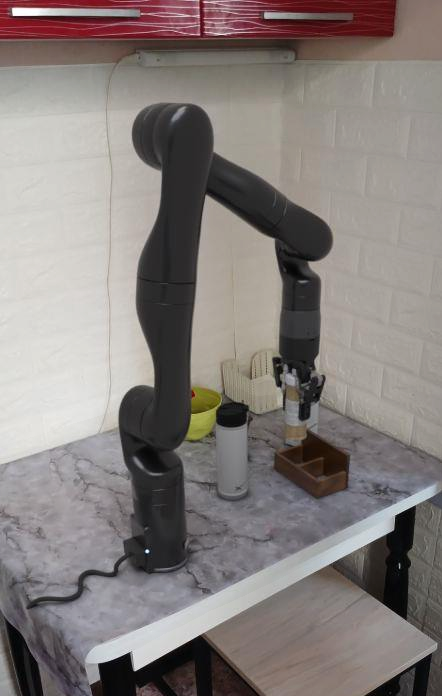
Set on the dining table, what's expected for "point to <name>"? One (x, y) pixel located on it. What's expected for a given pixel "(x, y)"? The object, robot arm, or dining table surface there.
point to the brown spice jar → (293, 412)
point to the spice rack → (315, 465)
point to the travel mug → (232, 450)
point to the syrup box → (308, 424)
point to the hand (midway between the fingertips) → (296, 414)
